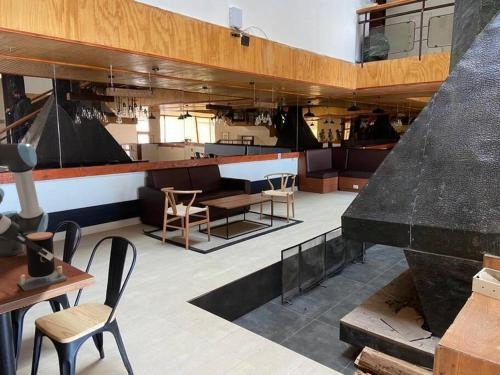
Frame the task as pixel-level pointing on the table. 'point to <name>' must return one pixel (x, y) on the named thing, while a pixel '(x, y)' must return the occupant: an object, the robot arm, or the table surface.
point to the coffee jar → (37, 262)
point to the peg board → (42, 280)
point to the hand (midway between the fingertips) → (47, 254)
